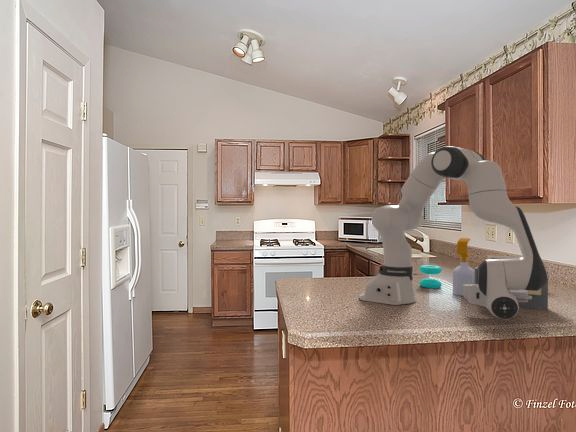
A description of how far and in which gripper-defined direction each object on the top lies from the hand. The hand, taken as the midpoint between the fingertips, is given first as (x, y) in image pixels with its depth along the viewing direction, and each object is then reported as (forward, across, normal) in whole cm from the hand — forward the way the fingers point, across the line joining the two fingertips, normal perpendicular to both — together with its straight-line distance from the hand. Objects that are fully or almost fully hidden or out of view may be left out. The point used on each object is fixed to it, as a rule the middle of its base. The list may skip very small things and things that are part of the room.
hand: (491, 288), depth 135 cm
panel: (+9, -7, +8) cm, 14 cm away
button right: (+7, -14, +2) cm, 16 cm away
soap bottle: (+24, +8, +8) cm, 27 cm away
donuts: (+36, +22, +8) cm, 43 cm away
